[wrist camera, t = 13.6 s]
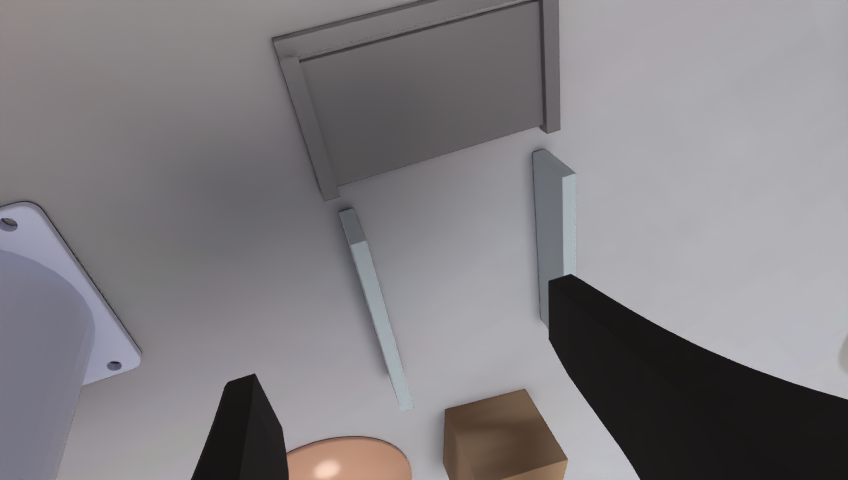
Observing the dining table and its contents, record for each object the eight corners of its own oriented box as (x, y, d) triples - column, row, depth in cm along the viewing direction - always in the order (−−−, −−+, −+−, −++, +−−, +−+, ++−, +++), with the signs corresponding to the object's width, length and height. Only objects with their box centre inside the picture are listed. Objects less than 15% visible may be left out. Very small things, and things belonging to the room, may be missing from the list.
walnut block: (442, 461, 33) (473, 540, 29) (444, 408, 30) (478, 486, 26) (516, 441, 34) (554, 513, 30) (524, 387, 32) (568, 459, 28)
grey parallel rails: (388, 374, 27) (401, 412, 25) (338, 212, 22) (350, 245, 20) (550, 315, 29) (575, 346, 27) (545, 148, 23) (575, 173, 21)
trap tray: (322, 194, 21) (324, 201, 20) (271, 37, 17) (273, 42, 17) (553, 124, 22) (560, 129, 22) (549, -32, 19) (558, -30, 18)
